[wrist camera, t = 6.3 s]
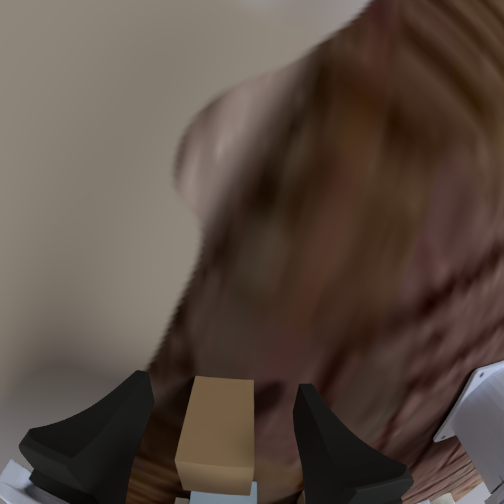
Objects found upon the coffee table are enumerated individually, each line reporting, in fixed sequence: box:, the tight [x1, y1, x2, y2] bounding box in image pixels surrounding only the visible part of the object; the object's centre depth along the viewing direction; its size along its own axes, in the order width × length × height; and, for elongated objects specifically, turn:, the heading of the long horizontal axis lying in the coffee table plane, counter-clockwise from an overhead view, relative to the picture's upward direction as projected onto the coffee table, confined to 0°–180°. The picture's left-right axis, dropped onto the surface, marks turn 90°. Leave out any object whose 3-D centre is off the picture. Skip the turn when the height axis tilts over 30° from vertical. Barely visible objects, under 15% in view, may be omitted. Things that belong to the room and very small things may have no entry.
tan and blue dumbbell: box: [175, 376, 257, 504], centre depth 13 cm, size 5×17×6 cm, turn 177°
